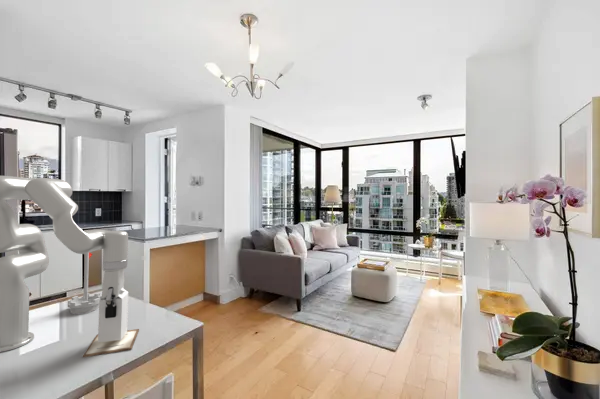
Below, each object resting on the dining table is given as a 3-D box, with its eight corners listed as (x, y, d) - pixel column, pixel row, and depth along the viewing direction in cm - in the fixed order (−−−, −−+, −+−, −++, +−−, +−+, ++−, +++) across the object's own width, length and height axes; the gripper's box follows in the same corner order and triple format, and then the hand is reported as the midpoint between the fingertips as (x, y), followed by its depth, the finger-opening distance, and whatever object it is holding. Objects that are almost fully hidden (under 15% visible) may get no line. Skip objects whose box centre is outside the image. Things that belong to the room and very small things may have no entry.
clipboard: (82, 357, 90) (82, 353, 90) (97, 336, 104) (97, 332, 104) (131, 349, 95) (131, 346, 95) (139, 330, 109) (139, 327, 109)
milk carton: (97, 342, 95) (99, 288, 95) (105, 333, 102) (107, 282, 102) (120, 340, 97) (122, 287, 97) (127, 331, 104) (128, 281, 104)
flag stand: (94, 313, 124) (96, 247, 124) (60, 315, 121) (62, 248, 121) (107, 303, 136) (109, 243, 136) (77, 304, 133) (79, 243, 133)
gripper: (109, 260, 106) (108, 305, 106) (95, 271, 90) (93, 324, 90) (131, 259, 109) (130, 303, 109) (121, 270, 93) (120, 321, 93)
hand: (113, 312), depth 100 cm, fingers closed on milk carton, 7 cm apart
